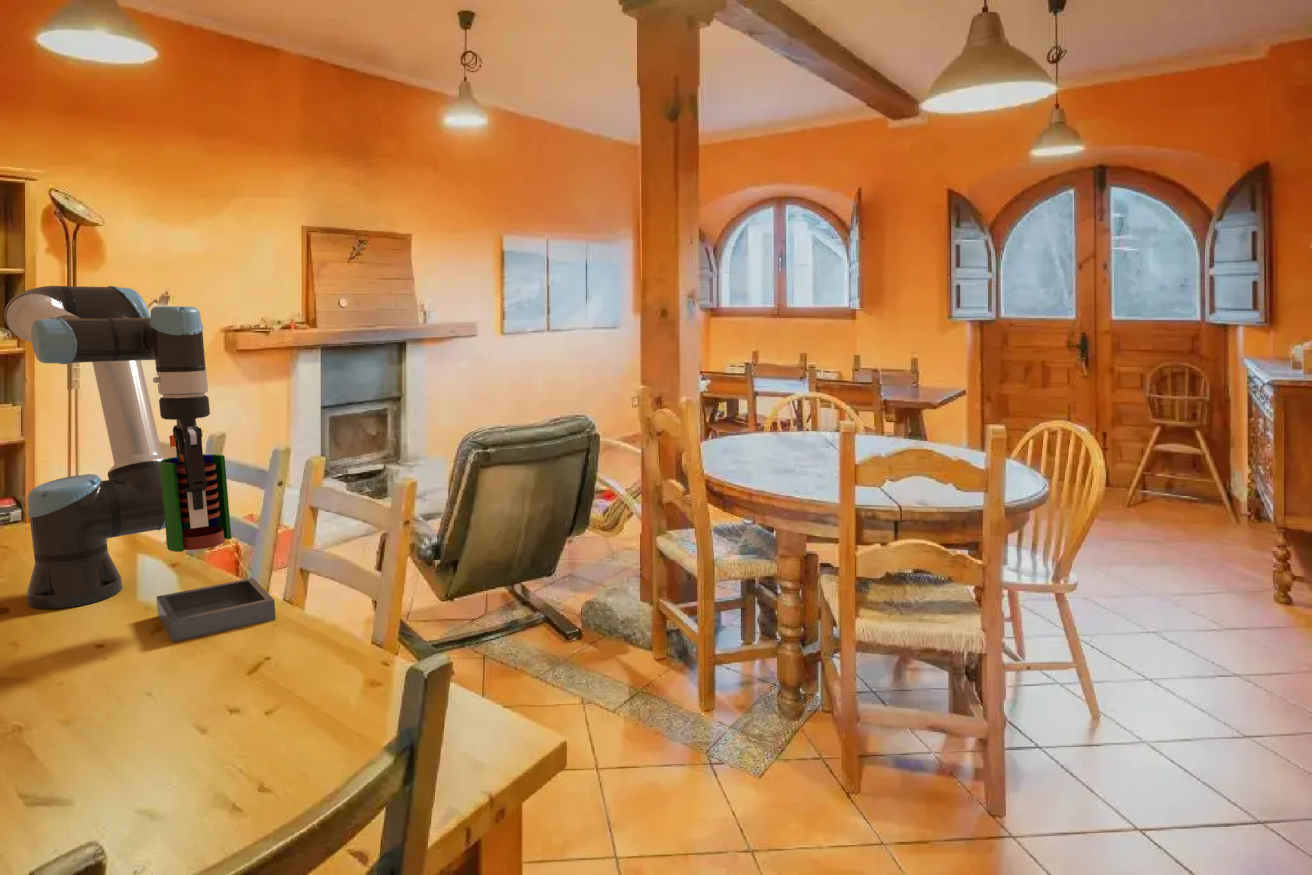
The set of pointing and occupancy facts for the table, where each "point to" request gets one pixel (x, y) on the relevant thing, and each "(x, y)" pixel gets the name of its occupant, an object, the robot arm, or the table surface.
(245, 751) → the table surface
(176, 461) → the motor
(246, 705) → the table surface
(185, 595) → the tray
